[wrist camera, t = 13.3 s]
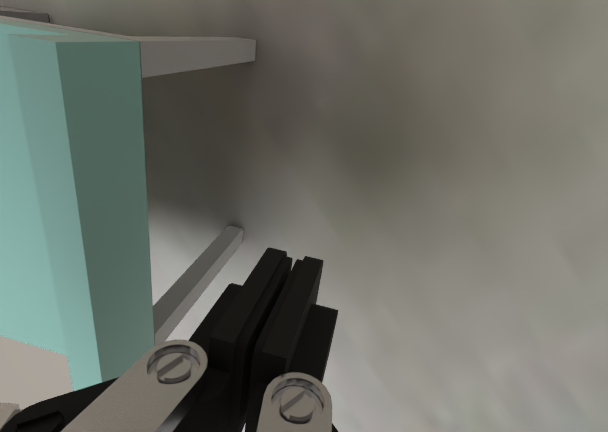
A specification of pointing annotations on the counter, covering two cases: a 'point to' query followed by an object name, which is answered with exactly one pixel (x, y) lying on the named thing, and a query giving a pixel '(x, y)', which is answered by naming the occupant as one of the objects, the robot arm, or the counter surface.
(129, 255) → the lid
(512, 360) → the counter surface
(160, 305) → the housing
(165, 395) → the robot arm
